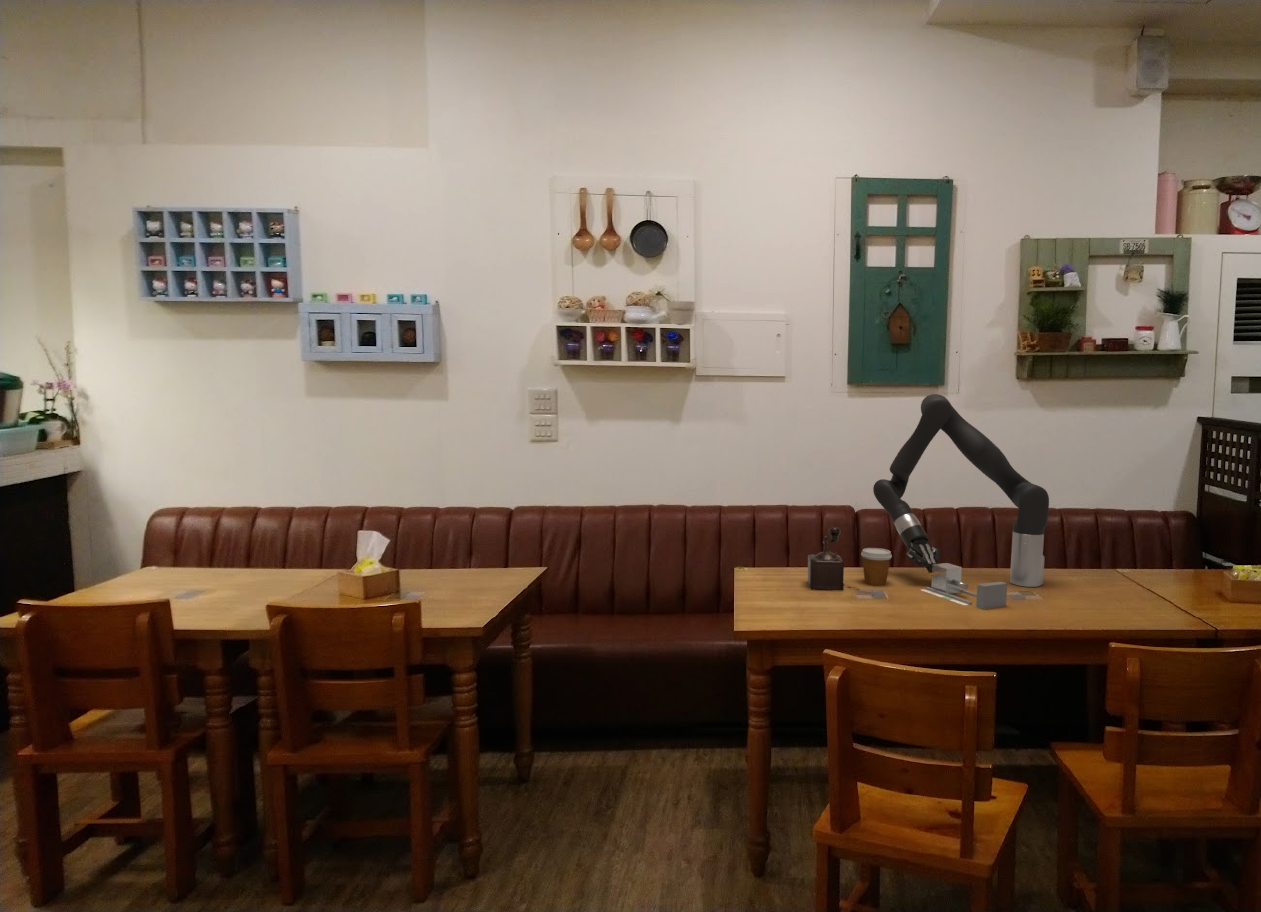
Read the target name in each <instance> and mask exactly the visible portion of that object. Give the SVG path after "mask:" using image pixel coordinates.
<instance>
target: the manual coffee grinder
mask: <svg viewBox="0 0 1261 912" xmlns="http://www.w3.org/2000/svg"><path fill="white" fill-rule="evenodd" d="M841 533H842V532H841V529H840V528H839V527H835V526H833V527H831V528H829V529H828V534H829V535H830V540H829V537H828V535H825V536H823V541H822V544H824V545H823V547H824V550H823V551H821V552H818V553H817V554H808V555H807V585H808V587H809V588H811V589H815V590H814V591H832V590H843V591H844V574H845V573H844V569H845V563H844V561H843V559H842V557H841V555H839V554H837V553H838V552H837V551H836V552H835V553H834V552H832V551H828V544H831V543H834V544H835V543H837V542H838V541H840V540H839V536H840V534H841ZM811 589H810V590H811Z"/></svg>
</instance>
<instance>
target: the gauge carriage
mask: <svg viewBox="0 0 1261 912" xmlns="http://www.w3.org/2000/svg"><path fill="white" fill-rule="evenodd" d="M962 569H963V566H959V565H956V564H952V563H948V562H945V563H944V562H943V563H936V564H933V565H932V573H929V572H926V573H925V576H927V577H928V576H931V575H932V576H931V586H930V588H932V589H935V590H938V591H941V592H944V593H947V594H950V595H953V594H961V593H962V592H961V589H963V590H967V589H968V588H969V584H967V583H965V582H963V581H962Z"/></svg>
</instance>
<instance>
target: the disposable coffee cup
mask: <svg viewBox="0 0 1261 912" xmlns="http://www.w3.org/2000/svg"><path fill="white" fill-rule="evenodd" d="M891 552H892V551H890V550H889V549H886V548H880V547H879V548H878V547H866V548H863V549H862V551H861V553H860V554H861V555H860V556H861V558H862V567H863V576H864V577H863V579H864V583H865V584H867V585H869V586H886V585H887V580H888V574H889V569H890V563H891V562H890V561H891V559H892V558H893V555H892V553H891Z"/></svg>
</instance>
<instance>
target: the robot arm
mask: <svg viewBox="0 0 1261 912" xmlns="http://www.w3.org/2000/svg"><path fill="white" fill-rule="evenodd" d="M920 411H921V417H920V419H919V422H918V424H917V426H916V428H915V430H914V431H913V432H912V434H911V436H910V437H909V438H908V439H907V440H906V442H904V444H903V445H902V446H901V448H900V450H899V451H898V452H897V454H896V456H895V457H894V459H893V460H892V462H891V464H890V466H889V472H890V473H891V474H892V475H891V478H890V480H889V479H879V480H877V481H875V482H874V485H873V487H872V492H873V496H874V498H875V499H876V501H877V502H878V504H880V506H882V508H883V509H884V510H885V511H886V512H887V513H888V515H889V517H890V518H891V520H892V522H893V524H894V526H895V529H896V531H897V533H898V534H899V536H900V538H901V540H902V542H903V543H904V545H905V547H906V548H907V549H908V552H907V553H906V554H905V557H906V558H908V559H909V560H910V561H911V562H913V563H914V564H916V565H917V566H918V567H924V568H926V570H927V573H932V565H933V564H938V563H939V561H940V555H941V548H940V547H936V548H935V547H934V546H933V545H932V544H931V543H930V541H929V537H928V534H927V533H926V531H925V529H924V528H923V526H922V524H921V522H920V521H919V519H918V518H917V516H916V515H915V513H914V512H913V510H912V508H911V507H910V505H909V504H908V503H907V502H906V501H905V500H903V499H902V497H903V496H904V494H905V492H906V490H907V486H908V483H909V479H910V476H911V474H912V473H913V472H914V469H915V468H916V467H917V464H918V463H919V461H920V460H921V458H922V456H923V454H924V453H925V451H926V450H927V447H928V446H929V445H930V444H931V442H932V441H933V439H934V438H935V437H936V435H937V434H938V432H939V431H940V430H941V431H942V432H943V433H945V434H946V436H948V438H949V439H950V440H951V441H952V443H953V444H954V445H955V446H956V448H957V449H958V450H959V451H960V452H961V453H962V455H963V456H964V457H965V458H966V459H967V460H968V461H969V462H970V463H971V464H972V465H973V466H975V468H976V469H978V471H980V472H981V473H982V474H983V475H985V476H986V477H987V478H989V479H990V480H991V481H992V482H993V483H995V484H996V485H997V486H998V487H999V488H1000V489H1001V491H1002V492H1003V493H1005V495H1006V496H1007V497H1008V498H1009V500H1010V501H1011V502H1012V503H1013V505H1014V506H1015V507H1017V508H1018V509H1017V510H1018V511H1017V517H1016V518H1017V519H1016V521H1014V522H1013V524H1012V525H1013V526H1012V538H1011V539H1012V540H1011V541H1012V542H1011V556H1010V558H1011V559H1010V573H1009V583H1010V584H1011V585H1015V586H1020V587H1027V588H1028V587H1029V588H1037V587H1040V586H1041V585H1044V573H1045V555H1044V553H1043V552H1044V540H1045V528H1046V527H1047V524H1048V520H1049V519H1048V518H1049V517H1048V516H1049V510H1050V508H1049V507H1050V497H1049V494H1048V492H1047V490H1046V489H1045V488H1044V487H1042V486H1040V485H1037V484H1034V483H1032V482H1030V481H1029V480H1028V479H1026V478H1025V477H1024V476H1023V475H1021V474H1020V473H1018V471H1017V470H1016V469H1014V468H1013V465H1011V463H1010V461H1009V460H1008V458H1007V456H1006V455H1005V454H1004V453H1003V452H1002V451H1001V449H1000V448H999V447H998V446H997V445H996V444H995V443H994V442H993V441H992V440H991V439H989V438H988V437H987V436H986V435H985V434H984V433H983V432H981V431H980V430H979V429H978V428H976V427H975V426H973V425H972V424H971V423H969V422H968V421H967V420H966V419H964V418H963V417H962V415H961V414H959V412H958V411H957V410H956V408H954V406H953V405H952V404H951V402H950V400H948V398H946V397H945V396H944V395H942V394H940V393H939V394H938V393H934V394H933V393H932V394H929V395H927V396H925V397H924V398H923V400H922V401H921V404H920ZM930 576H931V577H932V575H930Z"/></svg>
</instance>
